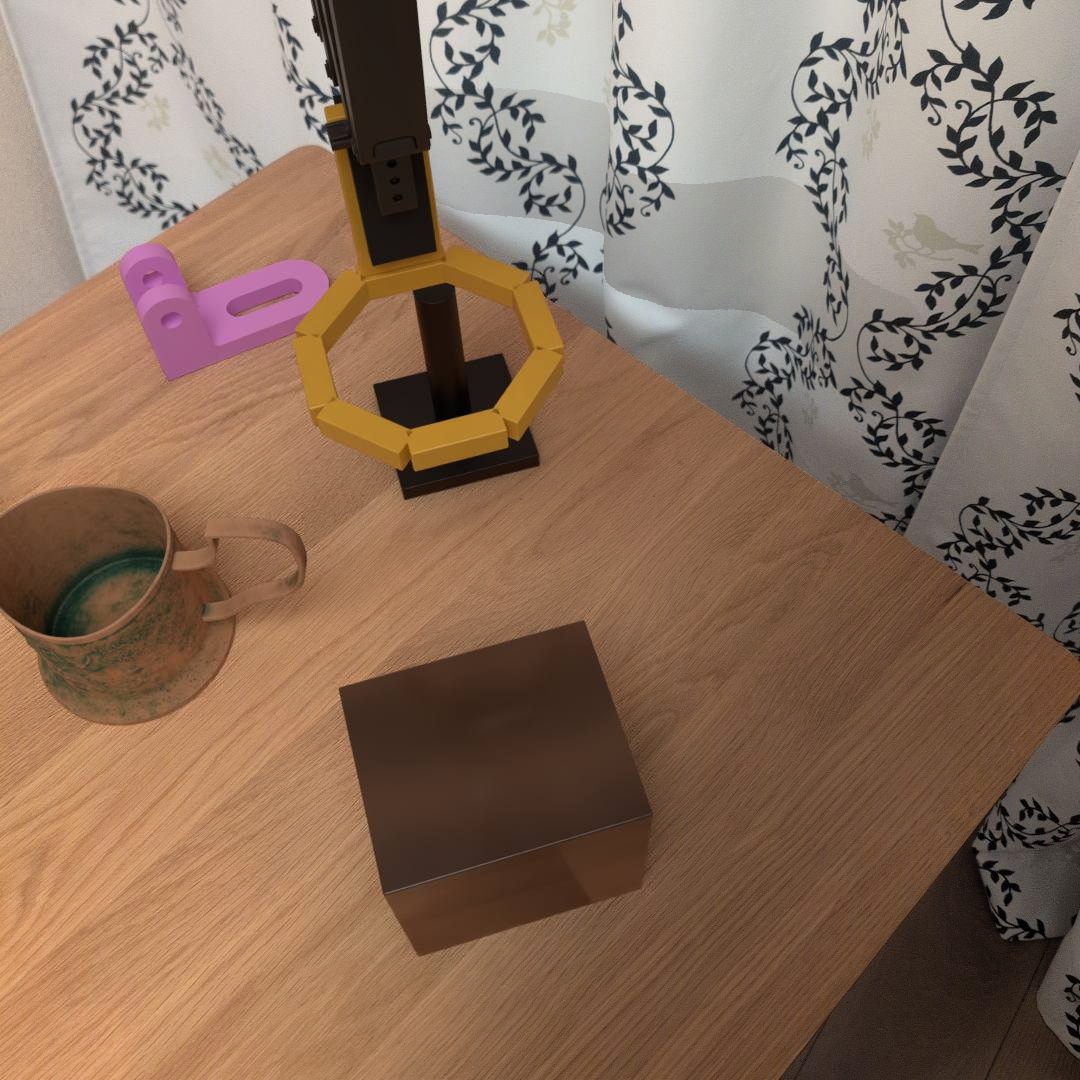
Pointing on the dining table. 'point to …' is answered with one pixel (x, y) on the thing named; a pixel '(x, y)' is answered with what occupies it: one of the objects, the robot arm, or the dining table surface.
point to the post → (450, 397)
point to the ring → (406, 275)
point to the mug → (124, 599)
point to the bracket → (215, 307)
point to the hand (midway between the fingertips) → (398, 239)
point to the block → (497, 787)
